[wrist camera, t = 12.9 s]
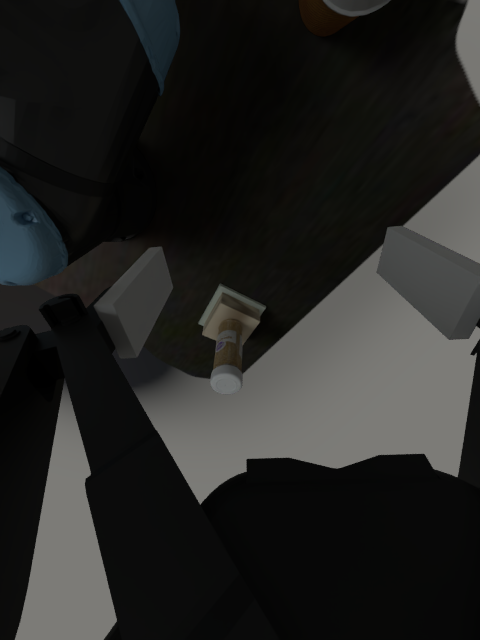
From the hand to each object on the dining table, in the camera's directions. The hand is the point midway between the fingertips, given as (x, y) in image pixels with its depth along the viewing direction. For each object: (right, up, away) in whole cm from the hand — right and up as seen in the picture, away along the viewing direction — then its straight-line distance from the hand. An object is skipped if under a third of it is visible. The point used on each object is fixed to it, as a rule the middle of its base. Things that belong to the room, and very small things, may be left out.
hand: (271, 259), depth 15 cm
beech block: (-4, -3, +34) cm, 34 cm away
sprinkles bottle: (-4, -5, +31) cm, 31 cm away
